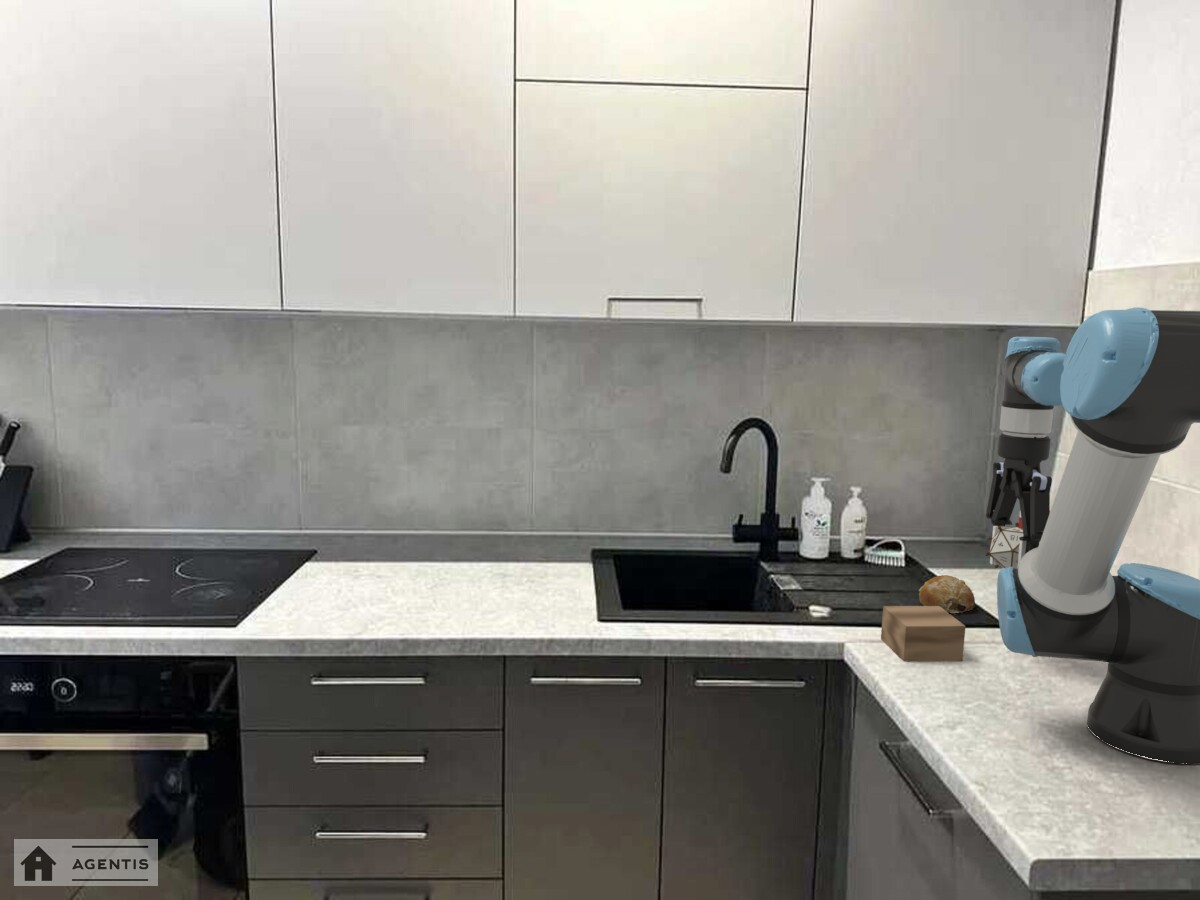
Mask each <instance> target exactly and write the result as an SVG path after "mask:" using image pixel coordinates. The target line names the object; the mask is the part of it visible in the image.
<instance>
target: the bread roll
mask: <svg viewBox="0 0 1200 900" xmlns="http://www.w3.org/2000/svg"><path fill="white" fill-rule="evenodd" d="M918 597H919V603H920V604H921V606H940V607H941V608H943V609H944V610H945V611H946V612H950V613H959V612H964V611H968V610H972V611H973V609H974V607H975V604H976V603H975V602H976V600H975V599H976V598H975V595H974V592H973V591H972V589H971V588H970V587H969V585H967V584H966V582H965V580H963V579H959V578H957V577H955V576H953V575H946V574H942V575H937V576H934V577H932V578H930V579H929V580H927V581H924V584H923V585H922V586H920V588H919V589H918Z"/></svg>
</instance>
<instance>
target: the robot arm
mask: <svg viewBox="0 0 1200 900" xmlns="http://www.w3.org/2000/svg"><path fill="white" fill-rule="evenodd" d="M1060 344H1061V343H1060V341H1059V339H1058V338H1055V337H1050V336H1049V337H1046V336H1045V337H1044V336H1014V337H1012V338H1010V339H1009V341H1008V342H1007V350H1006V355H1005V356H1004V361H1005V363H1004V364H1005V366H1004V368H1005V369H1004V378H1003V379H1004V380H1003V393H1002V401H1001V403H1002V404H1001V407H1000V408H1001V409H1000V417H999V419H1000V420H999V430H1000V431H1002V433H1000V435H998V443H997V455H998V456H999V457H1000V458H1002V459H1004V461H1003V462H997V461H995V462H993V464H992V480H991V485H990V489H989V490H990V491H989V492H990V493H989V496H988V502H987V508H986V512H985V513H986V514H985V517H986V518H987V519H990V522H991V525H993V526H992V536H991V537H992V538H993V537H994V536H995V535H996V534H997V533H998V532H999V531H1000V530H999V529H998V526H1001V528H1002V529H1007V528H1012V527H1011V525H1013V523H1012V521H1011V517H1012V514H1013V512H1014V508H1015V505H1016V503H1017V500H1018V501H1019V502H1018V503H1019V509H1020V511H1021V519H1022V527H1023V537H1019V539H1020V545H1019V555H1018V565H1017V568H1014V567H1009V568H1002V567H1001V568H1000V570H999V572H998V574H997V582H996V583H997V584H996V602H997V615H998V624H999V631H1000V636H1001V640H1002V642H1003V644H1004V646H1005V648H1007V650H1009V651H1010V652H1012V653H1015V654H1021V655H1027V656H1032V657H1034V658H1036V657H1040V658H1041V657H1044V658H1054V659H1055V658H1056V659H1069V660H1080V661H1081V660H1082V661H1092V662H1103V663H1108V664H1107V673H1106V674H1105V677H1104V679H1103V681H1102V683H1101V684H1100V687H1099V688H1098V690H1097V693H1096V695H1095V697H1094V699H1093V701H1092V703H1090V705H1089V707H1088V710H1087V717H1086V718H1087V719H1086V726H1087V725H1088V727H1089V729H1090V730H1091V731H1092V732H1093V733H1094V734H1095V735H1096V736H1098V737H1099V738H1100V739H1101V740H1103V741H1104V742H1106V743H1108V744H1110V745H1112V746H1114V747H1117V748H1119V749H1122V750H1124V751H1127V752H1130V753H1133V754H1137V755H1140V756H1145V757H1148V758H1152V759H1158V760H1163V761H1167V762H1168V761H1169V762H1174V763H1184V764H1183V765H1197V763H1199V764H1200V579H1199V578H1196V577H1193V576H1191V575H1189V574H1185V573H1182V572H1179V571H1176V570H1172V569H1168V568H1165V567H1159V566H1155V565H1150V564H1146V563H1145V564H1144V563H1138V562H1137V563H1136V562H1131V563H1126V562H1125V563H1122V564H1121V565H1120V566H1119V568H1118V569H1117V571H1116V573H1117V575H1112V573H1111V570H1112V567H1113V565H1114V563H1115V561H1116V558H1117V556H1118V553H1119V551H1120V549H1121V546H1122V544H1123V542H1124V540H1125V538H1126V536H1127V533H1128V531H1129V528H1130V526H1131V524H1132V521H1133V519H1134V517H1135V515H1136V512H1137V509H1138V508H1139V506H1140V503H1141V501H1142V499H1143V496H1144V494H1145V491H1146V488H1147V486H1148V484H1149V482H1150V480H1151V477H1152V475H1153V473H1154V471H1155V468H1156V465H1157V464H1158V462H1159V459H1160V457H1161V455H1164V454H1166V453H1170V452H1173V451H1174V450H1176V449H1177V448H1178V447H1180V446H1181V445H1182V444H1183V442H1184V441H1185V440H1186V437H1187V435H1188V433H1189V430H1191V429H1190V428H1191V426H1192V425H1193V424H1194V423H1195V424H1200V310H1168V309H1167V310H1162V309H1160V310H1159V309H1158V310H1156V309H1155V310H1153V309H1152V310H1151V309H1148V308H1146V307H1145V308H1144V307H1137V306H1136V307H1131V308H1126V309H1106V310H1105V309H1104V310H1101V311H1099V312H1096V313H1094V314H1092V315H1090V316H1088V317H1087V318H1086V319H1084V321H1083V322H1082V323H1080V325H1079V327H1078V328H1077V329H1076V331H1075V332H1074V334H1073V336H1072V337H1071V340H1070V341H1069V344H1068V346H1067V348H1066V352H1060V348H1061V347H1060ZM1060 406H1062V407H1063V409H1064V411H1065V412H1066V413H1067V414H1068V415H1069V418H1070V421H1071V423H1072V424H1073V426H1074V428H1075V429H1076V430H1077V432H1076V436H1075V439H1074V441H1073V445H1072V448H1071V450H1070V453H1069V456H1068V459H1067V462H1066V465H1065V467H1064V471H1063V474H1062V477H1061V479H1060V481H1059V482H1060V483H1059V486H1058V488H1057V491H1056V495H1055V497H1054V499H1053V502H1052V506H1050V504H1051V503H1050V502H1051V501H1050V496H1051V495H1050V493H1051V486H1052V482H1053V478H1052V477H1051V476H1049V475H1048V476H1044V475H1043V474H1042V471H1041V463H1042V462H1043V461H1044V462H1045V461H1047V460H1048V459H1049V458H1050V448H1051V442H1052V441H1051V438H1050V437H1049V436H1048V435H1049V434H1050V433H1051V432H1052V428H1053V427H1052V425H1053V419H1054V408H1055V407H1060ZM1050 507H1051V508H1050ZM1020 511H1019V512H1020ZM1039 542H1040V544H1039ZM989 556H990V555H989ZM989 564H990V565H994V566H995V565H996V564H997V563H996V562H995V561H994V560H993V558H992V557H991V556H990V558H989ZM1088 727H1087V728H1088ZM1089 729H1088V730H1089ZM1090 730H1089V731H1090ZM1100 739H1099V740H1100ZM1101 740H1100V741H1101ZM1103 741H1102V742H1103ZM1104 742H1103V743H1104ZM1106 743H1105V744H1106ZM1108 744H1107V745H1108ZM1110 745H1109V746H1110ZM1112 746H1111V747H1112ZM1114 747H1113V748H1114ZM1186 763H1187V764H1186ZM1195 763H1196V764H1195Z"/></svg>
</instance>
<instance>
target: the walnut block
mask: <svg viewBox="0 0 1200 900" xmlns="http://www.w3.org/2000/svg"><path fill="white" fill-rule="evenodd" d="M882 607H883V608H882V617H881V618H882V619H881V632H880V639H881V641H883V643H885V645H887V647H889V649H890V650H891V651H892V652H893V653H895V655H897V656H898V658H900V659H901V661H902V662H963V660H964V649H965V647H964V646H965V638H966V637H965V635H966V625H965V624H963V623H962V622H961V621H959V620H958V619H957V618H956V617H954V616H953V615H952V614H949V613H948V612H946V611H945V610H944V609H943V608H941V607H940V606H923V605H883V606H882Z"/></svg>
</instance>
